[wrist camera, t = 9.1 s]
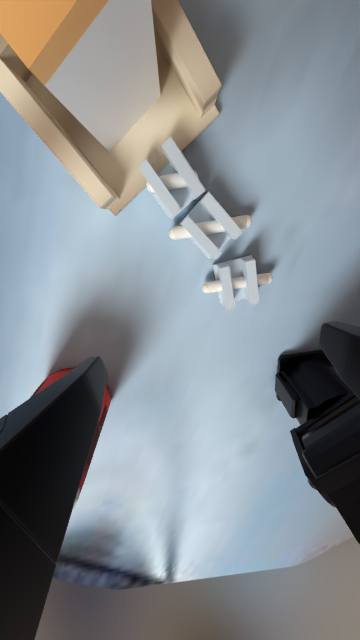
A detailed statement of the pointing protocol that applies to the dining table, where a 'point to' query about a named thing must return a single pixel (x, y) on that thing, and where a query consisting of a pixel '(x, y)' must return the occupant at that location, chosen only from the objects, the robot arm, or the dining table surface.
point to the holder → (146, 135)
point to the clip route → (204, 226)
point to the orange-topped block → (89, 57)
